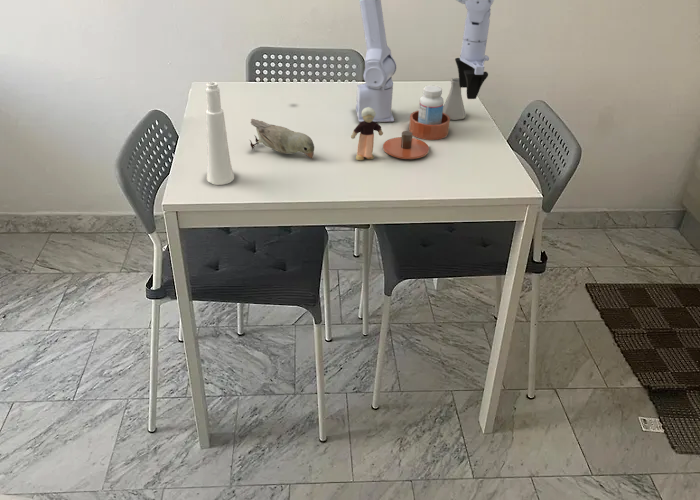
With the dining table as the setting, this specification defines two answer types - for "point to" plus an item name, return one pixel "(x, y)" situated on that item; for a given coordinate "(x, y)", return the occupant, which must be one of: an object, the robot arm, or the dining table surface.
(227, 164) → the cosmetic bottle
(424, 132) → the bowl
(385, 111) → the robot arm
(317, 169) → the dining table surface
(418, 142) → the lid
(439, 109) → the pill bottle
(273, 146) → the decorative bird
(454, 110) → the flask
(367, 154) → the grandmother figurine
